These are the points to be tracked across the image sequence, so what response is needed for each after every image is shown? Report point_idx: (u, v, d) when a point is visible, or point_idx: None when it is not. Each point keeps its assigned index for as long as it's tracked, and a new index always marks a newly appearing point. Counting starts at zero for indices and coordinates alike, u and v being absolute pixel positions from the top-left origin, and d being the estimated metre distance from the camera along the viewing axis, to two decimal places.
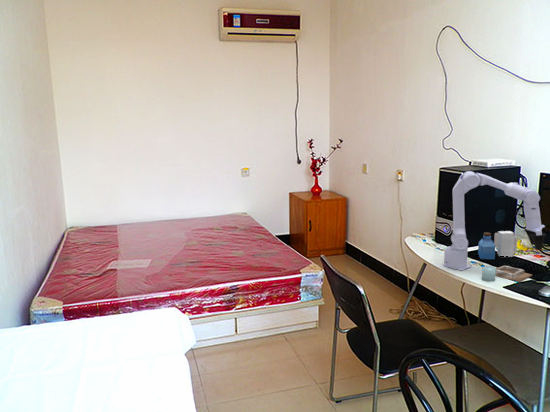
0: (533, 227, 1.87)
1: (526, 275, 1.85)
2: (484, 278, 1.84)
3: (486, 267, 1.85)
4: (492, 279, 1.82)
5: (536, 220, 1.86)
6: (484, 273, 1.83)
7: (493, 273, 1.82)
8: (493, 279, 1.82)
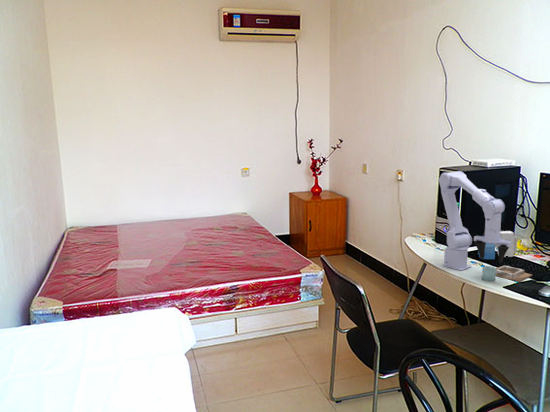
0: None
1: (526, 275, 1.85)
2: (484, 278, 1.84)
3: (486, 267, 1.85)
4: (492, 279, 1.82)
5: None
6: (484, 273, 1.83)
7: (493, 273, 1.82)
8: (493, 279, 1.82)
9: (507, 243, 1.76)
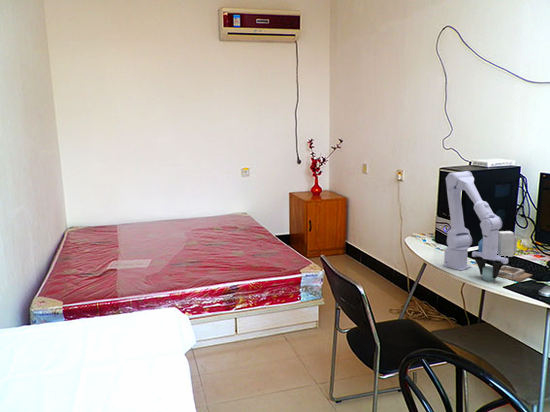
0: None
1: (526, 275, 1.85)
2: (484, 278, 1.84)
3: (486, 267, 1.85)
4: (492, 279, 1.82)
5: None
6: (484, 273, 1.83)
7: None
8: (493, 279, 1.82)
9: (504, 260, 1.77)
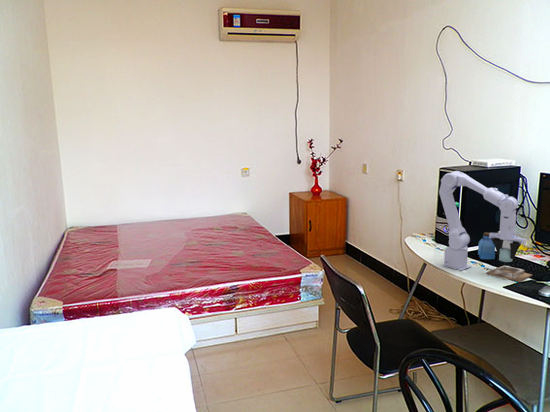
0: None
1: (526, 275, 1.85)
2: (501, 259, 1.85)
3: (503, 248, 1.86)
4: (509, 260, 1.84)
5: None
6: (501, 254, 1.85)
7: (510, 254, 1.83)
8: (510, 260, 1.84)
9: (521, 240, 1.79)
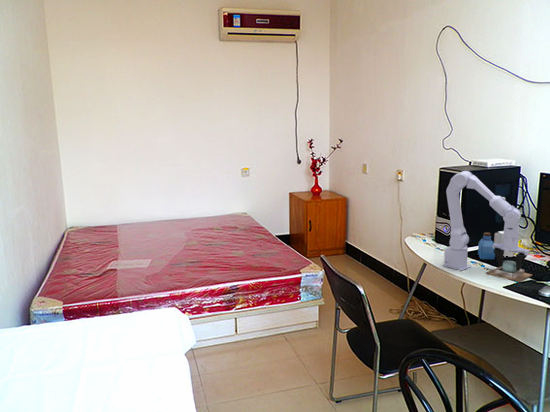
0: None
1: (526, 275, 1.85)
2: None
3: (506, 261, 1.88)
4: (512, 273, 1.86)
5: None
6: (505, 267, 1.87)
7: (514, 267, 1.85)
8: (513, 273, 1.86)
9: (525, 251, 1.80)
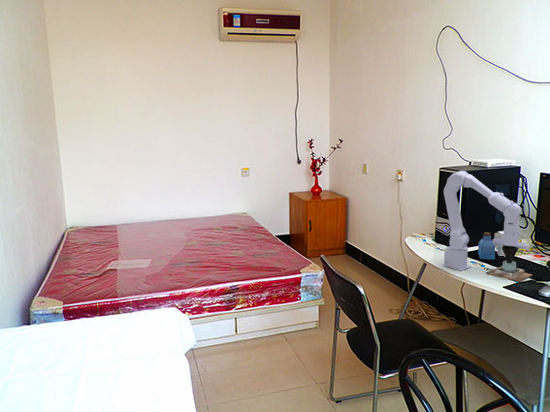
0: None
1: (526, 275, 1.85)
2: None
3: (506, 261, 1.89)
4: (512, 273, 1.86)
5: None
6: (505, 267, 1.87)
7: (514, 267, 1.86)
8: (513, 273, 1.86)
9: (525, 246, 1.80)
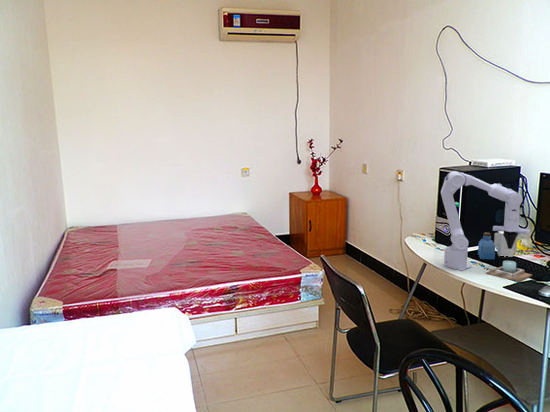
0: None
1: (526, 275, 1.85)
2: None
3: (506, 261, 1.89)
4: (512, 273, 1.86)
5: (504, 220, 1.93)
6: (505, 267, 1.87)
7: (514, 267, 1.85)
8: (513, 273, 1.86)
9: (527, 231, 1.88)
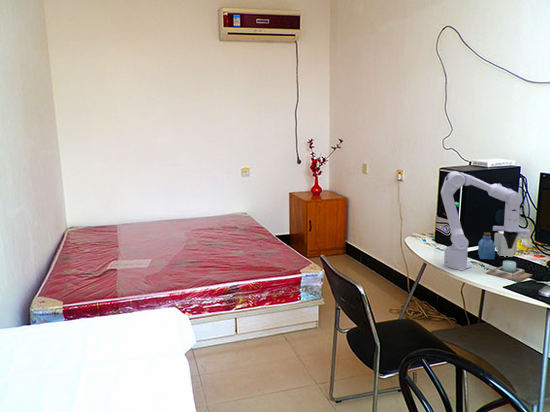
0: None
1: (526, 275, 1.85)
2: None
3: (506, 261, 1.89)
4: (512, 273, 1.86)
5: (504, 220, 1.93)
6: (505, 267, 1.87)
7: (514, 267, 1.85)
8: (513, 273, 1.86)
9: (527, 231, 1.88)
